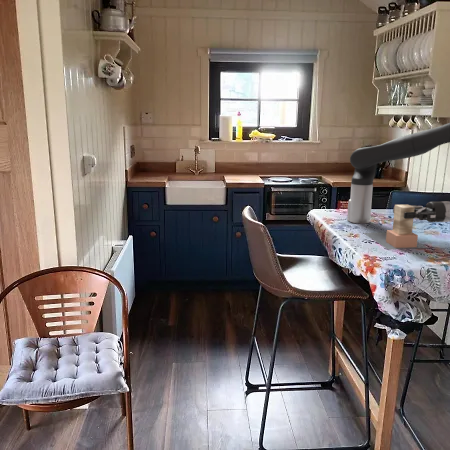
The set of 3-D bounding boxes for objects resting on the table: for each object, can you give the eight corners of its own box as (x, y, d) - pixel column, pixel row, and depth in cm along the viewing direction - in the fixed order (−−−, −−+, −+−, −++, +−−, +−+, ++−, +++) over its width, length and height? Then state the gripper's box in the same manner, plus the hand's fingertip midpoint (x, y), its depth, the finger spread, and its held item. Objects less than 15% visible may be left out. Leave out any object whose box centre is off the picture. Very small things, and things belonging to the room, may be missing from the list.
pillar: (398, 234, 166) (401, 207, 164) (392, 231, 171) (394, 204, 168) (411, 234, 166) (414, 207, 164) (405, 230, 171) (407, 204, 169)
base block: (395, 247, 165) (396, 235, 164) (385, 241, 173) (386, 230, 172) (416, 247, 166) (417, 235, 165) (406, 241, 174) (407, 229, 173)
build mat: (387, 251, 164) (387, 249, 164) (363, 234, 186) (363, 232, 186) (427, 249, 165) (428, 248, 165) (398, 233, 187) (398, 231, 187)
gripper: (432, 198, 174) (390, 199, 173) (453, 205, 160) (409, 206, 159) (430, 217, 176) (389, 218, 174) (451, 226, 162) (407, 227, 161)
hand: (398, 212), depth 167 cm, fingers open, 8 cm apart
